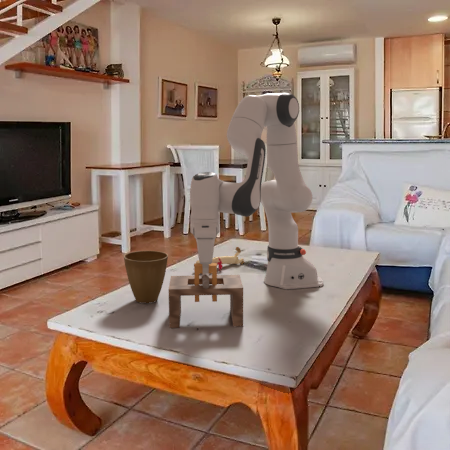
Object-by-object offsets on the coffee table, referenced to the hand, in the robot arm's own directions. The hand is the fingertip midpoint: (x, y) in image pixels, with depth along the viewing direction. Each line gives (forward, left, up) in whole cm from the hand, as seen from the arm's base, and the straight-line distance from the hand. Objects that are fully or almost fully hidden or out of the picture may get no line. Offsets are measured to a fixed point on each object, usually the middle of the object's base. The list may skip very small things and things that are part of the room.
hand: (205, 271), depth 158 cm
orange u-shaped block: (0, 0, -9) cm, 9 cm away
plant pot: (+20, -19, -16) cm, 32 cm away
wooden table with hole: (0, 0, -15) cm, 15 cm away
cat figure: (-6, -59, -16) cm, 62 cm away
